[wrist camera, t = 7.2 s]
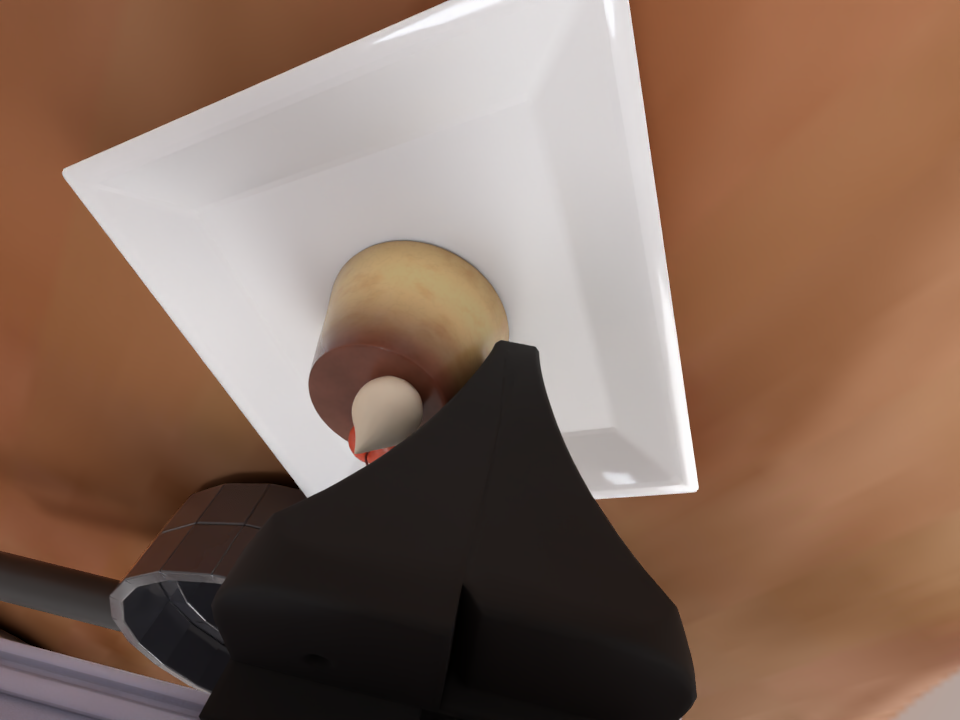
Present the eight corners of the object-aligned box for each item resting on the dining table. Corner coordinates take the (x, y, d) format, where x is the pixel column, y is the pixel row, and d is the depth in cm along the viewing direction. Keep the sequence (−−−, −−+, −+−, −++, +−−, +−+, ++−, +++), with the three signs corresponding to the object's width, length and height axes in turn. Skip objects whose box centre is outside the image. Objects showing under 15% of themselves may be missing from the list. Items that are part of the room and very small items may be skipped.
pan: (448, 663, 25) (427, 762, 22) (217, 606, 26) (164, 692, 23) (471, 514, 17) (444, 631, 14) (146, 442, 18) (52, 536, 15)
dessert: (335, 492, 18) (266, 626, 14) (97, 157, 12) (-137, 236, 8) (692, 461, 14) (729, 635, 10) (616, -67, 8) (635, -122, 4)
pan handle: (161, 601, 21) (133, 641, 19) (-14, 557, 21) (-52, 593, 20) (150, 580, 20) (119, 621, 18) (-33, 535, 20) (-75, 572, 19)
